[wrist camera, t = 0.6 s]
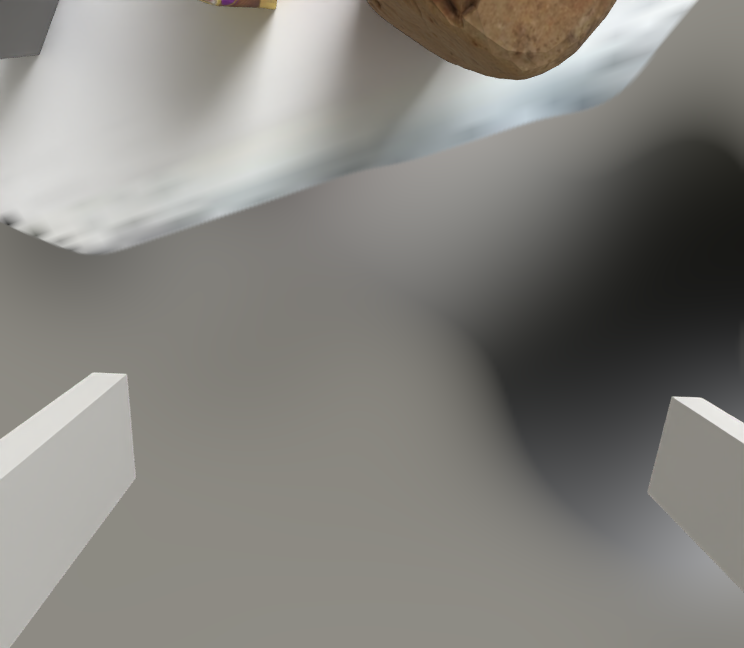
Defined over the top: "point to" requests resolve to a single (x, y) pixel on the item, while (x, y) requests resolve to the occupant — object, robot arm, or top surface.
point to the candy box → (244, 3)
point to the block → (497, 31)
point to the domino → (24, 26)
